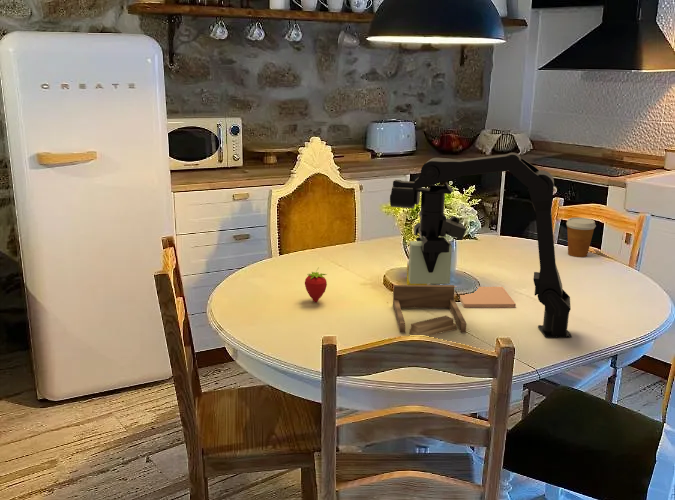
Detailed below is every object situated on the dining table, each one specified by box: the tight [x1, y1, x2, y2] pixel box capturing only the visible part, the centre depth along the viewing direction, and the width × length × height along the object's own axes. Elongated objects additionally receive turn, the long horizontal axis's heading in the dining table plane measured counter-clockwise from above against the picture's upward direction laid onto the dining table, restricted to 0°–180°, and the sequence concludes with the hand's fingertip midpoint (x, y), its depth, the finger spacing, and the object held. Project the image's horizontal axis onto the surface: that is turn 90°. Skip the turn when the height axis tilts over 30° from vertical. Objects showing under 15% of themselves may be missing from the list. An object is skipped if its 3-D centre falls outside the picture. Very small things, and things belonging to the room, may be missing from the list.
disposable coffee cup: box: [566, 217, 597, 258], centre depth 229 cm, size 10×10×12 cm
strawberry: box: [304, 268, 328, 303], centre depth 183 cm, size 6×8×10 cm
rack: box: [392, 284, 467, 334], centre depth 173 cm, size 18×16×6 cm
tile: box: [459, 286, 517, 309], centre depth 188 cm, size 14×14×1 cm
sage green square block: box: [408, 240, 453, 285], centre depth 171 cm, size 4×10×10 cm, turn 91°
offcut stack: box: [408, 315, 458, 337], centre depth 166 cm, size 4×12×3 cm, turn 117°
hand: (429, 269), depth 171 cm, fingers closed on sage green square block, 4 cm apart
